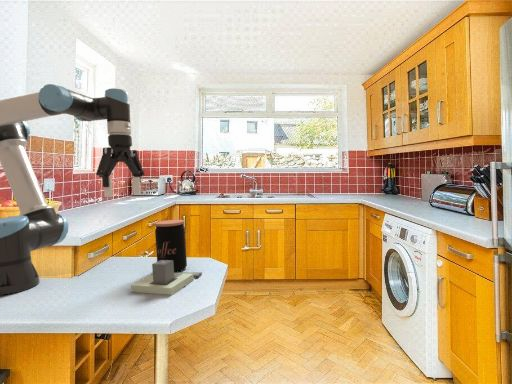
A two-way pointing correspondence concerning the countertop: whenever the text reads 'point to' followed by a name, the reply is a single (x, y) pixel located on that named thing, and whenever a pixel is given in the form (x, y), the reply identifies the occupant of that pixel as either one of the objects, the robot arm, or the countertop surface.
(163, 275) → the block
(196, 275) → the phone
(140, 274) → the countertop surface
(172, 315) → the countertop surface
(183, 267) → the coffee jar
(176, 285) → the outlet plate
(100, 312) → the countertop surface
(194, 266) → the countertop surface
